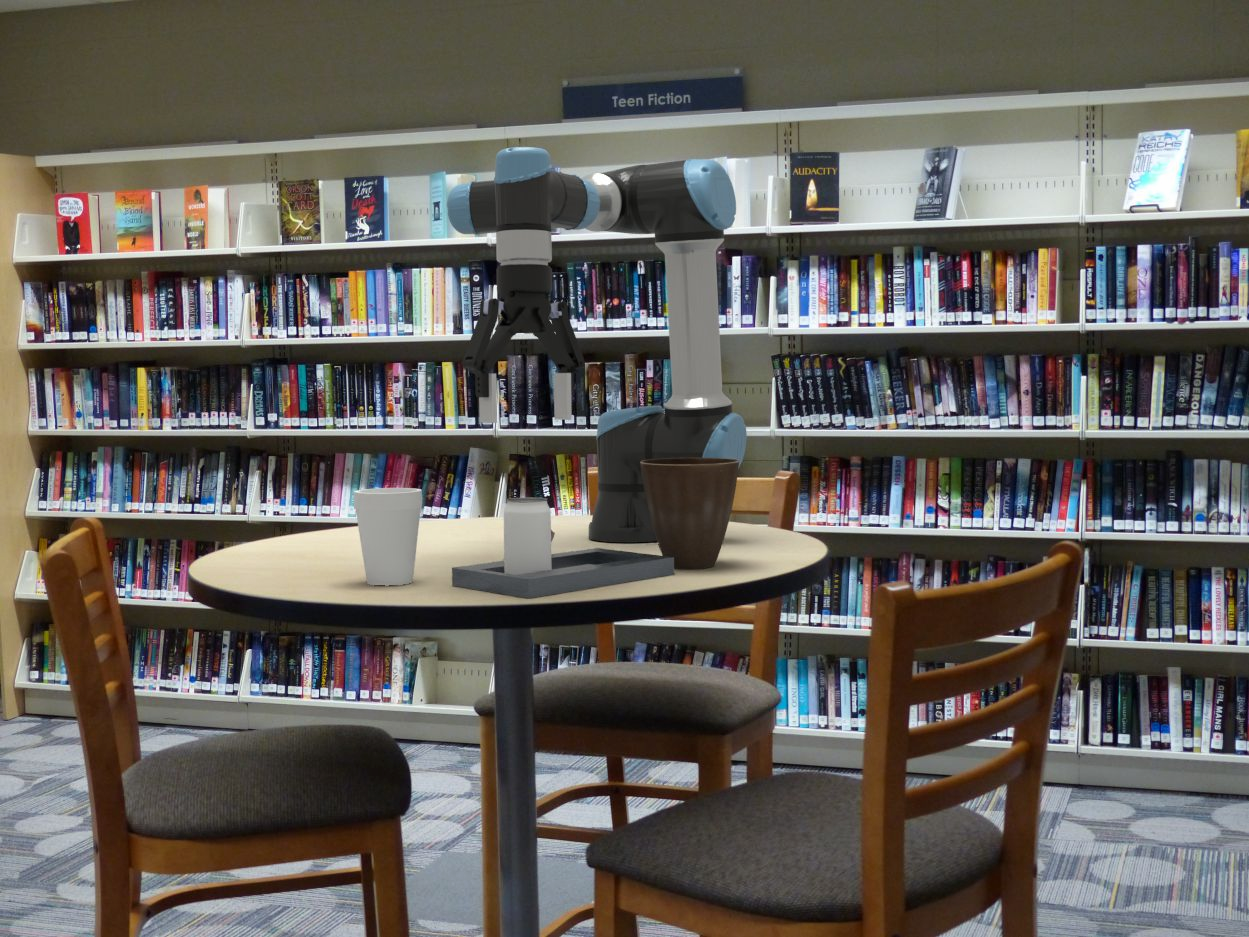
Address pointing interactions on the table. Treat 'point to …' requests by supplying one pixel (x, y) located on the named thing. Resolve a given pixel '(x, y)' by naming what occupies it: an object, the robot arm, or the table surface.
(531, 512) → the can
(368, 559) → the foam cup
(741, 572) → the table surface
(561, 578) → the keyhole plate
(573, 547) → the table surface
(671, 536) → the plant pot
